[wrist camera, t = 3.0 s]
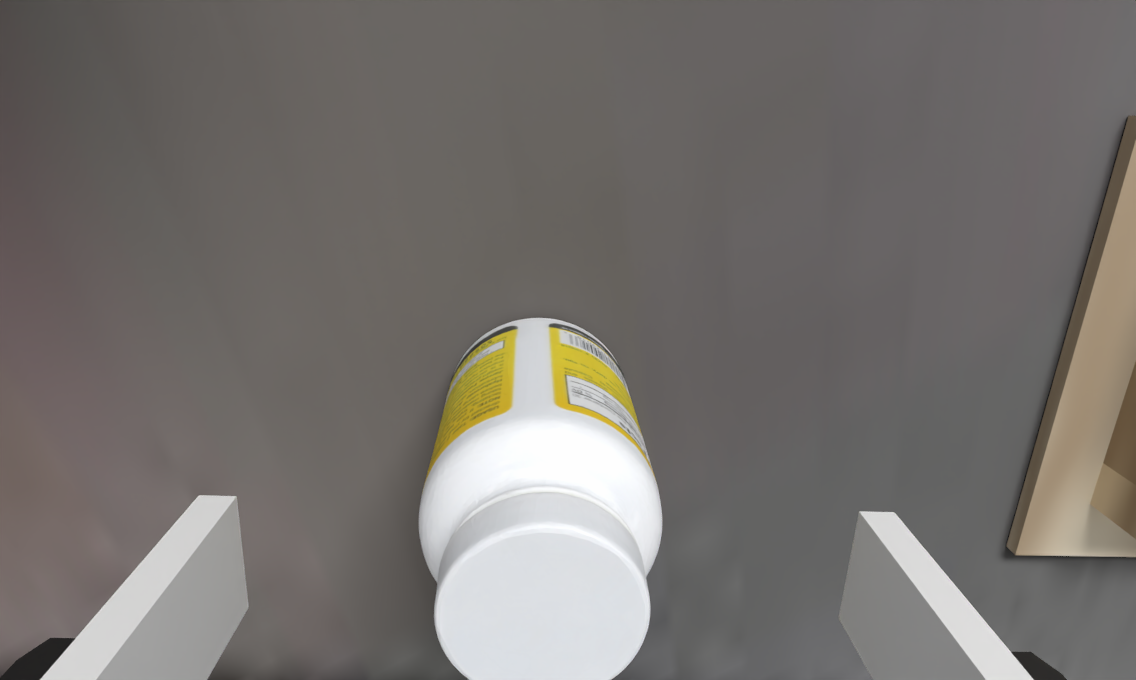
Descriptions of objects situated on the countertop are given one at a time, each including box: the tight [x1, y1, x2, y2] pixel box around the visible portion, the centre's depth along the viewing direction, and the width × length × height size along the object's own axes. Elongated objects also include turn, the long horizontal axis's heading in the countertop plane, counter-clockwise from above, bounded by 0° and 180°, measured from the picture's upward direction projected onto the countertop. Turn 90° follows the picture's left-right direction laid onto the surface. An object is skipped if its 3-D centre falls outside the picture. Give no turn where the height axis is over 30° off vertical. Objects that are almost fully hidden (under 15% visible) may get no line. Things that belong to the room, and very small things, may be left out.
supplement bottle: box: [419, 318, 662, 680], centre depth 18 cm, size 5×5×10 cm
